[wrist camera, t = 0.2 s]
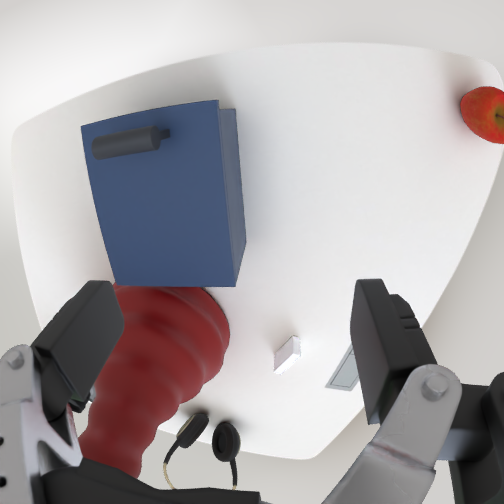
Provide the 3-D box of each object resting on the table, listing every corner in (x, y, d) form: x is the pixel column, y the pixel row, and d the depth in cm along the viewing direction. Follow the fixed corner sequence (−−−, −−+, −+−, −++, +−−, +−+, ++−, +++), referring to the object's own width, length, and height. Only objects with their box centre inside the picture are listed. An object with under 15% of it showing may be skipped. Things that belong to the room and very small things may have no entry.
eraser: (300, 338, 43) (300, 356, 40) (281, 357, 45) (280, 374, 42) (293, 335, 43) (293, 353, 40) (274, 354, 45) (273, 371, 42)
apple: (440, 103, 26) (475, 107, 20) (468, 76, 24) (505, 76, 17) (467, 145, 28) (503, 158, 21) (494, 118, 26) (531, 126, 19)
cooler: (128, 124, 31) (86, 133, 23) (235, 108, 30) (219, 109, 22) (149, 245, 38) (120, 281, 30) (246, 242, 37) (236, 282, 29)
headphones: (187, 398, 53) (161, 489, 35) (253, 424, 55) (243, 511, 38) (173, 415, 57) (149, 494, 39) (234, 438, 59) (222, 516, 41)
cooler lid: (85, 125, 23) (51, 133, 18) (218, 99, 21) (203, 98, 17) (119, 281, 30) (98, 309, 26) (236, 282, 29) (228, 315, 24)
